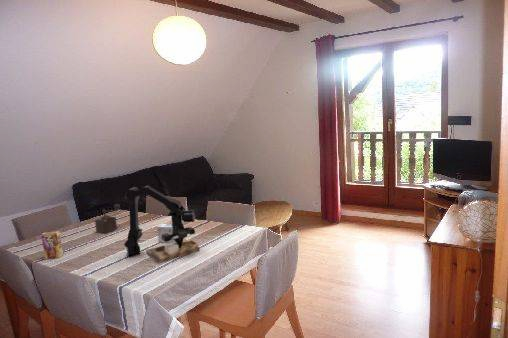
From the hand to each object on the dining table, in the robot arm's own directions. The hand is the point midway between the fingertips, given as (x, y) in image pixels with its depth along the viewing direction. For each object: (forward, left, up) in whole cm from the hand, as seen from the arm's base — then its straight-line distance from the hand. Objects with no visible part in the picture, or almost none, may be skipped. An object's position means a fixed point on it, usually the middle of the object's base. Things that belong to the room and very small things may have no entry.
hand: (179, 248), depth 208 cm
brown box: (-21, +77, -3) cm, 80 cm away
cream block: (-5, 0, -1) cm, 5 cm away
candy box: (-60, +48, -3) cm, 77 cm away
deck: (-3, +4, -3) cm, 6 cm away
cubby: (+4, 0, -1) cm, 4 cm away
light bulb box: (+2, +23, -3) cm, 24 cm away
